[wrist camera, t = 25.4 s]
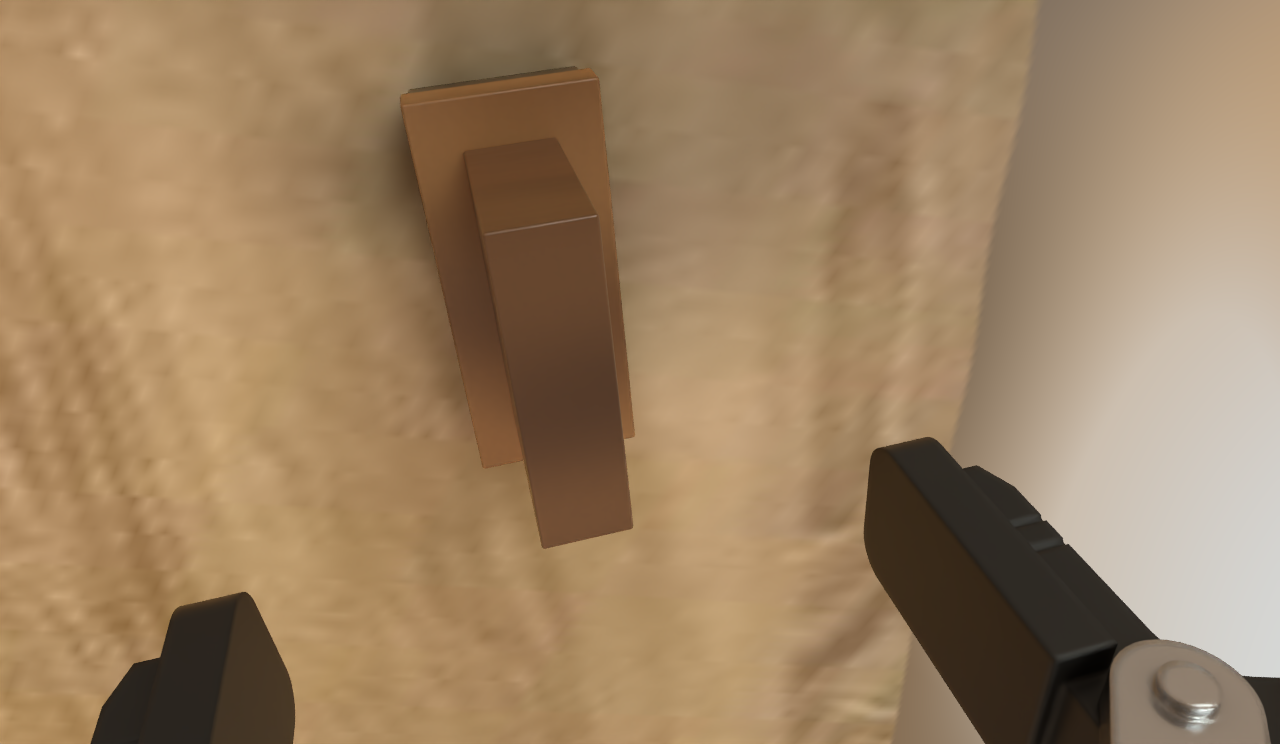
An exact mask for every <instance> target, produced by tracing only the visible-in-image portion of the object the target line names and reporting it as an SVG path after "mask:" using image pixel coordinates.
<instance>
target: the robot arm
mask: <svg viewBox="0 0 1280 744" xmlns="http://www.w3.org/2000/svg"><path fill="white" fill-rule="evenodd" d="M864 542H865V548H866V552H867V555H868V559H869V562H870V564H871V567H872V569H873V571H874V573H875V575H876V577H877V578H878V580H879V581H880V583H881V584H882V586H883V587H884V589H885V591H886V592H887V594H888V595H889V597H890V598H891V600H892V601H893V603H894V604H895V606H896V607H897V609H898V611H899V612H900V614H901V615H902V617H903V618H904V620H905V621H906V623H907V624H908V626H909V627H910V629H911V630H912V632H913V634H914V635H915V637H916V638H917V640H918V641H919V643H920V644H921V646H922V647H923V649H924V650H925V652H926V654H927V655H928V657H929V658H930V660H931V661H932V663H933V664H934V666H935V667H936V669H937V670H938V672H939V673H940V675H941V676H942V678H943V680H944V681H945V683H946V684H947V686H948V687H949V689H950V690H951V692H952V693H953V695H954V697H955V698H956V699H957V701H958V703H959V704H960V706H961V707H962V709H963V710H964V712H965V713H966V715H967V716H968V718H969V720H970V721H971V723H972V724H973V725H974V727H975V729H976V730H977V732H978V733H979V735H980V736H981V738H982V739H983V741H984V743H985V744H1280V678H1269V677H1249V676H1242V675H1240V674H1239V673H1238V672H1237V671H1236V670H1234V669H1233V668H1232V667H1231V666H1230V665H1228V664H1227V663H1225V662H1224V661H1222V660H1221V659H1219V658H1217V657H1215V656H1214V655H1212V654H1210V653H1208V652H1206V651H1204V650H1201V649H1199V648H1196V647H1194V646H1191V645H1187V644H1184V643H1181V642H1175V641H1169V640H1160V639H1159V638H1158V637H1157V636H1155V634H1153V633H1152V632H1151V631H1150V630H1149V629H1148V628H1147V627H1146V626H1145V624H1144V623H1143V622H1142V621H1141V620H1140V619H1139V618H1138V617H1137V616H1136V615H1135V614H1134V613H1133V612H1132V611H1131V610H1130V609H1129V607H1128V606H1127V605H1126V604H1125V603H1124V602H1123V601H1122V600H1121V599H1120V598H1119V597H1118V596H1117V595H1116V594H1115V593H1114V592H1113V591H1112V589H1111V588H1110V587H1109V586H1108V585H1107V584H1106V583H1105V582H1104V581H1103V580H1102V579H1101V578H1100V577H1099V576H1098V575H1097V574H1096V573H1095V572H1094V570H1093V569H1092V568H1091V567H1090V566H1089V565H1088V564H1087V563H1086V562H1085V561H1084V560H1083V559H1082V558H1081V557H1080V556H1079V555H1078V554H1077V553H1076V551H1075V550H1074V549H1073V548H1072V547H1071V546H1070V545H1069V544H1067V545H1065V544H1064V542H1063V538H1062V537H1061V536H1060V534H1059V533H1058V532H1057V531H1056V530H1055V529H1054V528H1053V527H1052V526H1051V525H1050V524H1049V523H1048V522H1047V521H1043V520H1042V519H1041V515H1040V513H1039V512H1038V511H1037V510H1036V509H1035V508H1034V507H1033V506H1032V505H1031V504H1030V503H1029V502H1028V501H1027V500H1026V499H1025V497H1024V496H1023V495H1022V494H1021V493H1020V492H1019V491H1018V490H1017V489H1016V488H1015V487H1014V486H1012V485H1010V484H1009V483H1007V482H1005V481H1004V480H1002V479H1000V478H998V477H996V476H994V475H993V474H991V473H990V472H988V471H986V470H984V469H983V468H981V467H979V466H972V467H968V468H964V469H962V468H961V466H960V465H959V464H958V463H957V462H956V461H955V460H954V459H953V457H952V456H951V455H950V454H949V453H948V452H947V451H946V450H945V448H944V447H943V446H942V445H941V444H940V443H939V442H938V441H937V440H935V439H934V438H931V437H925V438H920V439H916V440H912V441H907V442H903V443H899V444H894V445H890V446H886V447H881V448H877V449H875V450H874V451H873V453H872V456H871V460H870V468H869V479H868V490H867V501H866V511H865V522H864ZM294 728H295V704H294V695H293V689H292V684H291V681H290V677H289V674H288V671H287V669H286V667H285V665H284V663H283V661H282V658H281V656H280V654H279V652H278V650H277V648H276V646H275V644H274V642H273V640H272V637H271V635H270V633H269V631H268V629H267V627H266V625H265V623H264V621H263V619H262V617H261V614H260V612H259V610H258V608H257V606H256V604H255V602H254V600H253V598H252V597H251V596H250V595H249V594H248V593H246V592H241V593H236V594H232V595H228V596H223V597H219V598H215V599H210V600H206V601H202V602H197V603H193V604H188V605H184V606H180V607H178V608H176V610H175V611H174V612H173V614H172V617H171V620H170V623H169V627H168V630H167V634H166V638H165V642H164V645H163V649H162V653H161V657H160V658H156V659H152V660H147V661H143V662H139V663H135V664H133V665H132V667H131V668H130V670H129V671H128V672H127V674H126V675H125V676H124V678H123V679H122V681H121V682H120V683H119V685H118V686H117V687H116V689H115V690H114V691H113V693H112V694H111V696H110V697H109V698H108V700H107V701H106V702H105V704H104V705H103V706H102V709H101V712H100V715H99V719H98V722H97V725H96V728H95V731H94V734H93V738H92V741H91V744H293V738H294Z"/></svg>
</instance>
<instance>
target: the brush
mask: <svg viewBox="0 0 1280 744" xmlns="http://www.w3.org/2000/svg"><path fill="white" fill-rule="evenodd" d="M400 102H401V111H402V115H403V120H404V124H405V128H406V133H407V137H408V142H409V146H410V150H411V155H412V159H413V164H414V168H415V172H416V177H417V181H418V186H419V190H420V194H421V199H422V203H423V207H424V212H425V216H426V221H427V225H428V229H429V234H430V238H431V243H432V247H433V251H434V256H435V260H436V265H437V269H438V273H439V278H440V282H441V286H442V291H443V295H444V300H445V304H446V308H447V313H448V317H449V322H450V326H451V330H452V335H453V339H454V343H455V348H456V352H457V357H458V361H459V365H460V370H461V374H462V379H463V383H464V387H465V392H466V396H467V401H468V405H469V409H470V414H471V418H472V422H473V427H474V431H475V436H476V440H477V444H478V449H479V453H480V458H481V462H482V466H483V468H490V467H494V466H499V465H504V464H509V463H513V462H518V461H524V465H525V470H526V475H527V480H528V484H529V489H530V494H531V498H532V503H533V508H534V512H535V517H536V522H537V526H538V531H539V536H540V540H541V545H542V547H543V549H546V548H550V547H554V546H559V545H563V544H567V543H572V542H576V541H580V540H585V539H589V538H594V537H598V536H602V535H607V534H611V533H615V532H620V531H624V530H628V529H632V528H633V519H632V510H631V501H630V492H629V483H628V474H627V465H626V455H625V446H624V439H626V438H631V437H634V435H635V432H634V422H633V412H632V402H631V392H630V382H629V372H628V362H627V352H626V342H625V332H624V323H623V313H622V303H621V293H620V283H619V273H618V263H617V253H616V243H615V233H614V223H613V213H612V203H611V193H610V184H609V174H608V164H607V154H606V144H605V134H604V124H603V114H602V104H601V94H600V84H599V78H598V77H597V76H596V74H595V73H594V72H593V71H592V70H591V69H590V68H586V69H578V68H577V67H575V66H574V67H566V68H559V69H552V70H545V71H538V72H531V73H523V74H516V75H509V76H502V77H495V78H488V79H481V80H473V81H466V82H459V83H452V84H445V85H438V86H431V87H423V88H416V89H410V90H408V94H402V95H401V97H400Z"/></svg>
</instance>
